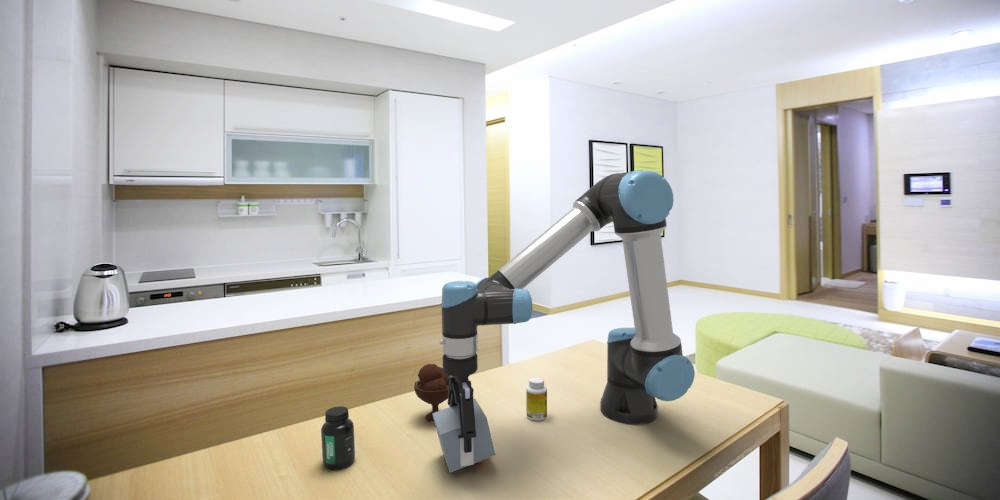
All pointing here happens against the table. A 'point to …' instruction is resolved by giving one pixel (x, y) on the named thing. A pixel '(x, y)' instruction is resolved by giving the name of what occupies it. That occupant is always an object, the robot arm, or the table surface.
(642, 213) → the robot arm
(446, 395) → the ice cream bowl
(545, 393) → the supplement bottle
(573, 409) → the table surface
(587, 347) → the table surface
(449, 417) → the block
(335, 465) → the supplement bottle
